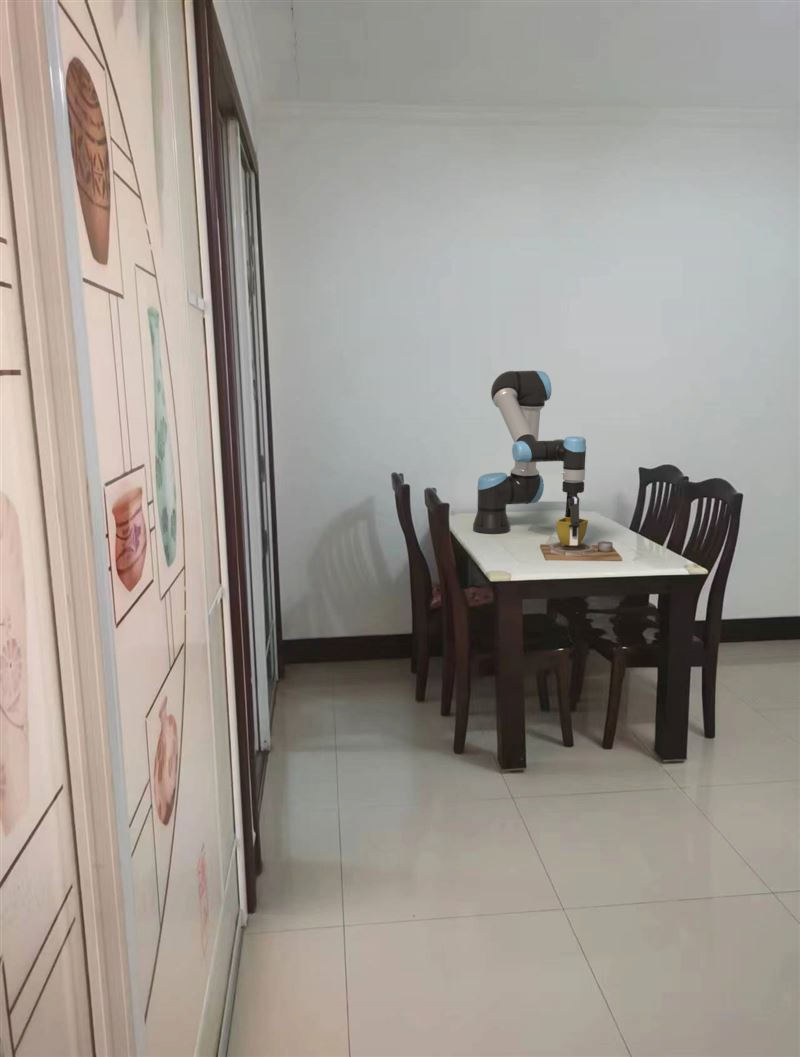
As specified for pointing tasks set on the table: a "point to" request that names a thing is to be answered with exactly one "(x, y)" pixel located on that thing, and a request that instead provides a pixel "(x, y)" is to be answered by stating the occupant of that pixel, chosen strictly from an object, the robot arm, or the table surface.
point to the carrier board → (580, 552)
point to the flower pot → (564, 530)
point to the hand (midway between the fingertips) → (571, 541)
